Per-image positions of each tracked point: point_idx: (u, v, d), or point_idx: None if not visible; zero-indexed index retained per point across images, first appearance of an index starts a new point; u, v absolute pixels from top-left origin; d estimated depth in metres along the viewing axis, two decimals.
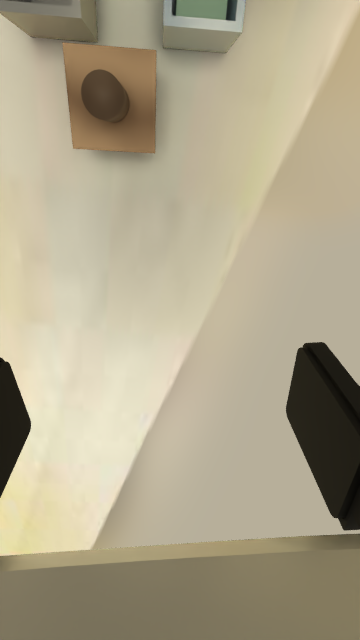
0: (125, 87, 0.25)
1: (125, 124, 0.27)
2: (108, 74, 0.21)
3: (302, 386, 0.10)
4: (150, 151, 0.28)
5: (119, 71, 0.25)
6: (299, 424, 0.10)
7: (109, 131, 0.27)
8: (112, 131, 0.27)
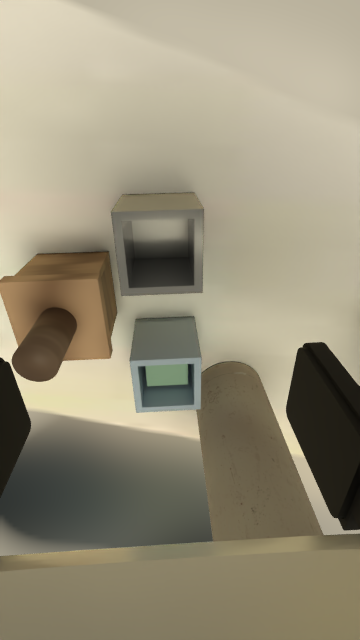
0: (74, 335, 0.25)
1: None
2: (56, 369, 0.20)
3: (302, 386, 0.10)
4: None
5: (86, 329, 0.24)
6: (299, 424, 0.10)
7: (29, 321, 0.24)
8: (30, 323, 0.24)
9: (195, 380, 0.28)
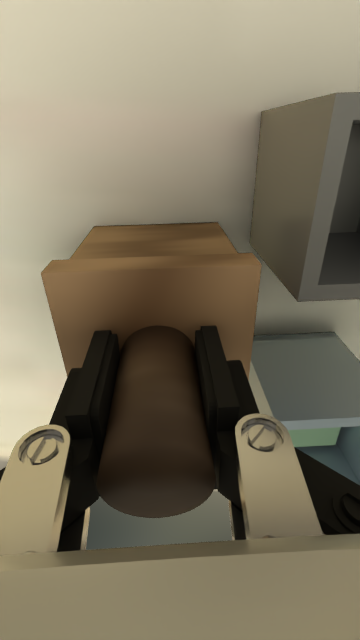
0: None
1: None
2: (205, 493, 0.08)
3: None
4: None
5: None
6: None
7: None
8: None
9: None
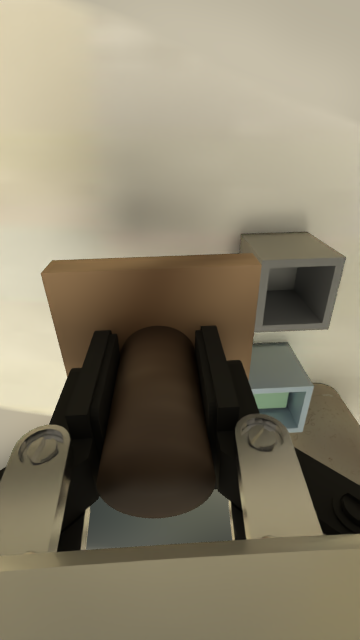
0: None
1: None
2: (205, 493, 0.08)
3: None
4: None
5: None
6: None
7: None
8: None
9: (303, 406, 0.30)
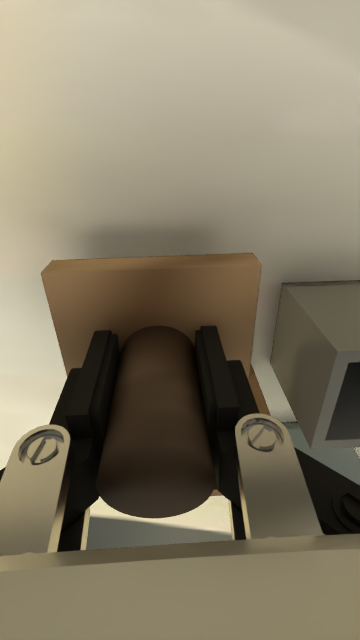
0: None
1: None
2: (205, 493, 0.08)
3: None
4: None
5: None
6: None
7: None
8: None
9: None
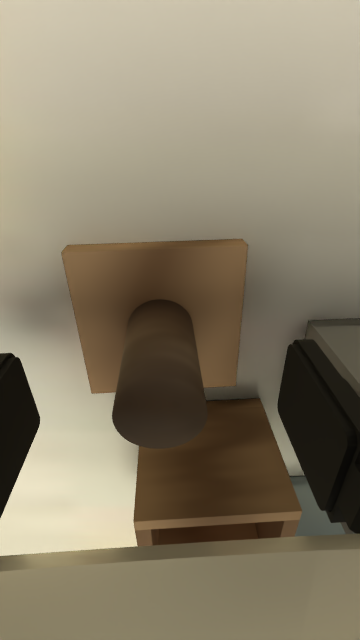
0: None
1: None
2: (199, 426, 0.10)
3: (292, 382, 0.10)
4: (92, 387, 0.15)
5: (207, 338, 0.14)
6: (289, 420, 0.10)
7: (111, 324, 0.13)
8: (112, 329, 0.14)
9: None
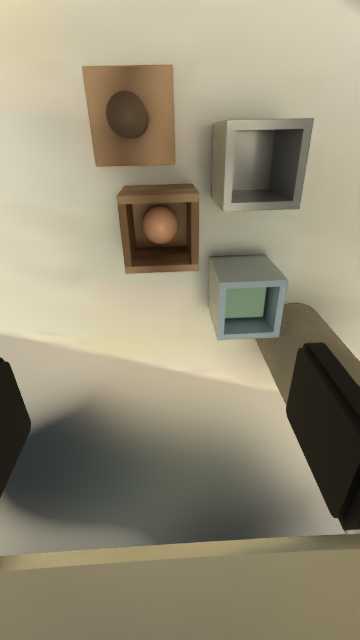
0: (145, 133, 0.27)
1: (115, 133, 0.27)
2: (143, 122, 0.22)
3: (302, 386, 0.10)
4: (96, 161, 0.28)
5: (156, 127, 0.27)
6: (299, 424, 0.10)
7: (106, 114, 0.26)
8: (106, 118, 0.26)
9: (278, 305, 0.29)
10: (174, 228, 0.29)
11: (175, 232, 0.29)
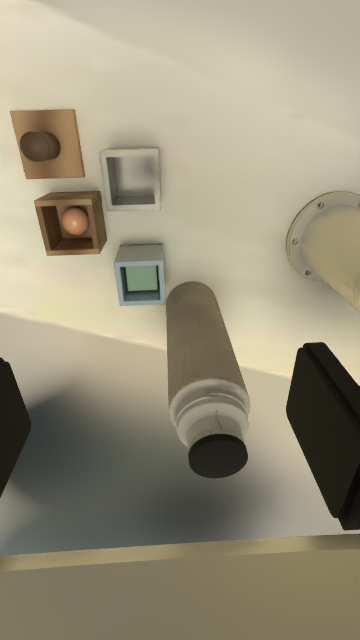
0: (59, 156, 0.38)
1: None
2: (46, 151, 0.33)
3: (302, 386, 0.10)
4: (26, 175, 0.39)
5: (67, 151, 0.38)
6: (299, 424, 0.10)
7: None
8: None
9: (160, 279, 0.40)
10: (83, 223, 0.40)
11: (85, 226, 0.40)
